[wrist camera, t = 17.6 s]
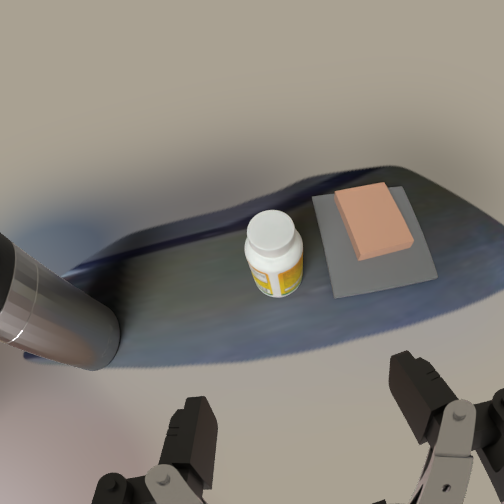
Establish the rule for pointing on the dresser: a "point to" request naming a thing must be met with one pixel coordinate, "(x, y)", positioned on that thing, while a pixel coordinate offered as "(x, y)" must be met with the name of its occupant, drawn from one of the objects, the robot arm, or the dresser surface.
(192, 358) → the dresser surface
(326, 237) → the rubber mat
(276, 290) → the supplement bottle
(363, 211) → the terracotta tile
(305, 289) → the dresser surface
